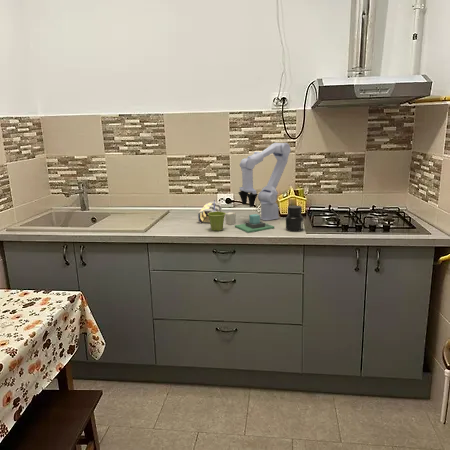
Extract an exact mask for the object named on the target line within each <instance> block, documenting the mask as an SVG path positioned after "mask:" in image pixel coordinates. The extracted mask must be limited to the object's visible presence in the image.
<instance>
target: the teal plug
mask: <svg viewBox="0 0 450 450" xmlns="http://www.w3.org/2000/svg"><path fill="white" fill-rule="evenodd" d="M248 217H249V221H248V222H249V223H251V224H259V223H260V221H261V219H260V217H261V215H260V214H257V213H255V214H249V216H248Z"/></svg>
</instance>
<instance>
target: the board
mask: <svg viewBox="0 0 450 450" xmlns="http://www.w3.org/2000/svg"><path fill="white" fill-rule="evenodd" d="M234 228H236V229H238V230H240V231H242V232H245V233H247V234H251V233H256V232H262V231H267V230H272V229H273V230H274V229H275V226H274V225H271V224H269V223H266V222H263V221H261V220H260V223H259V224H251V223H249V221H245V223H240V224H234Z"/></svg>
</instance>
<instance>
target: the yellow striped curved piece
mask: <svg viewBox="0 0 450 450" xmlns="http://www.w3.org/2000/svg"><path fill="white" fill-rule="evenodd" d="M222 208H223V207H222V204H221V203H220V202H217V201H216V200H215V199H214V200H213V201H209V202H206V203H205V204H204V206H203V207H202V208H201V209H200V210H199V212H198V213H197V219H198V222H199V224H202V223H203V221H204V220H205V218H206V216H208V213H210V212H223V210H222Z"/></svg>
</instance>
